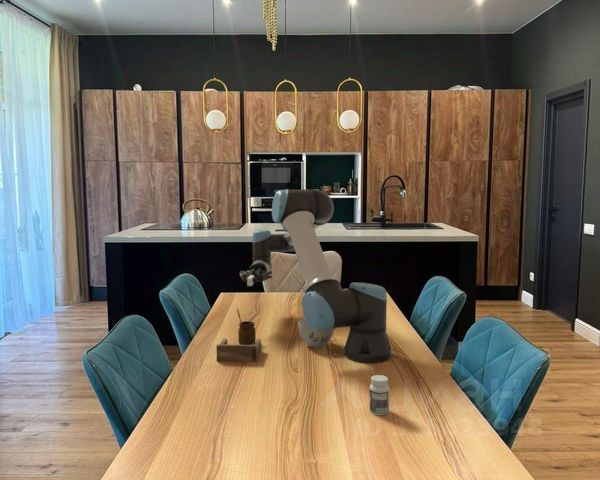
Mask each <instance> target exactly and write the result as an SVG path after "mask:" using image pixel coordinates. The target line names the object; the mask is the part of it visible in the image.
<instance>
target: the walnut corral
mask: <svg viewBox="0 0 600 480" xmlns="http://www.w3.org/2000/svg"><path fill="white" fill-rule="evenodd" d="M261 351H262V339H261V338H257V339H256V340H255V343H254V344H250V345H242V344H228V338H223V339H222V340H221V342H220V343H218V344H216V362H242V363H244V362H245V363H248V362H249V363H257V361H258V358H259V356H260V355H261Z"/></svg>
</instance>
